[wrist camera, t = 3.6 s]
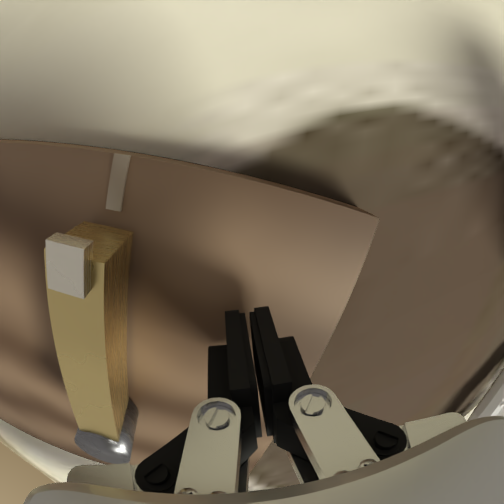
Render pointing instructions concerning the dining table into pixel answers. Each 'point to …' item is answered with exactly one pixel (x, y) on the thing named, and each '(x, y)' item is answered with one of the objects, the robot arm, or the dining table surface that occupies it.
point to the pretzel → (491, 400)
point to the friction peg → (93, 334)
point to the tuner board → (165, 276)
